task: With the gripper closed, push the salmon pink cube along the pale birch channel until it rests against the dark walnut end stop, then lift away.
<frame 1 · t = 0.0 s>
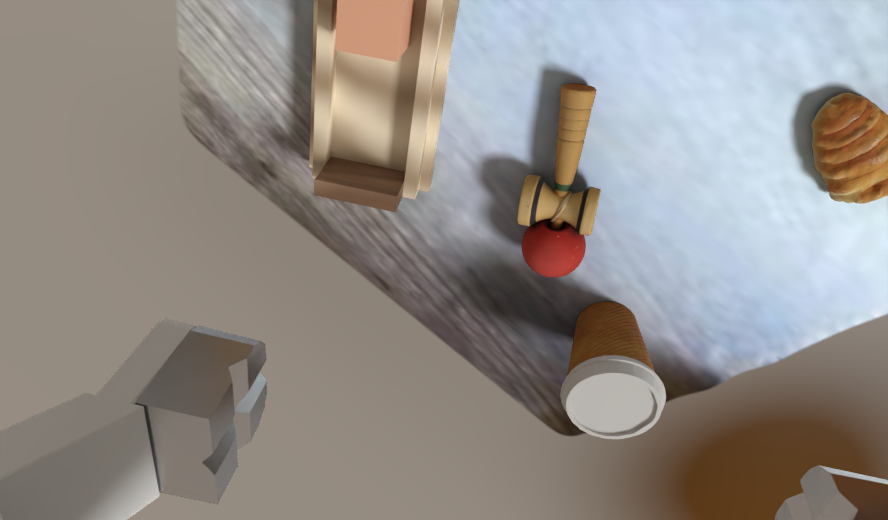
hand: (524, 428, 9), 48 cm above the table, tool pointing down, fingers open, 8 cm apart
salmon pink cube: (376, 15, 50), point 4 cm above the table, slide at 0.0 cm
disposable coffee cup: (606, 323, 68), on the table
pastry: (849, 146, 54), on the table
kendama: (561, 173, 59), on the table
channel: (380, 75, 56), on the table
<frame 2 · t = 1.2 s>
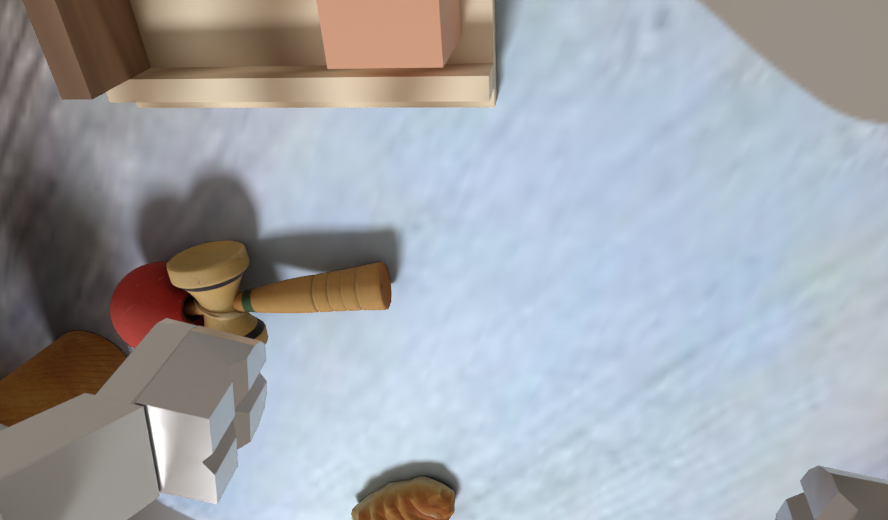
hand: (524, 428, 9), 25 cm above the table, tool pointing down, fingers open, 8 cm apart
disposable coffee cup: (97, 359, 50), on the table
pastry: (406, 500, 53), on the table
kendama: (266, 274, 42), on the table
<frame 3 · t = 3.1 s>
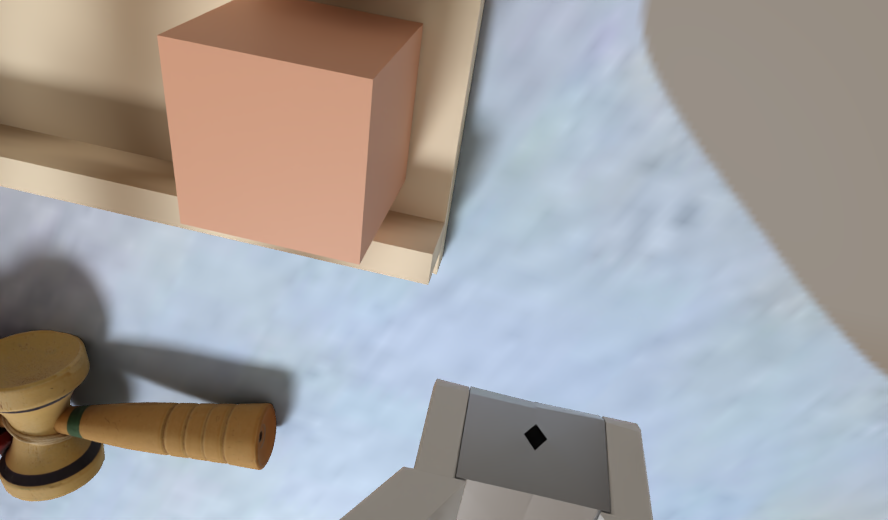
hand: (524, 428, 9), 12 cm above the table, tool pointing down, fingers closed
salmon pink cube: (304, 121, 17), point 4 cm above the table, slide at 0.0 cm
kendama: (115, 377, 32), on the table
channel: (170, 44, 21), on the table
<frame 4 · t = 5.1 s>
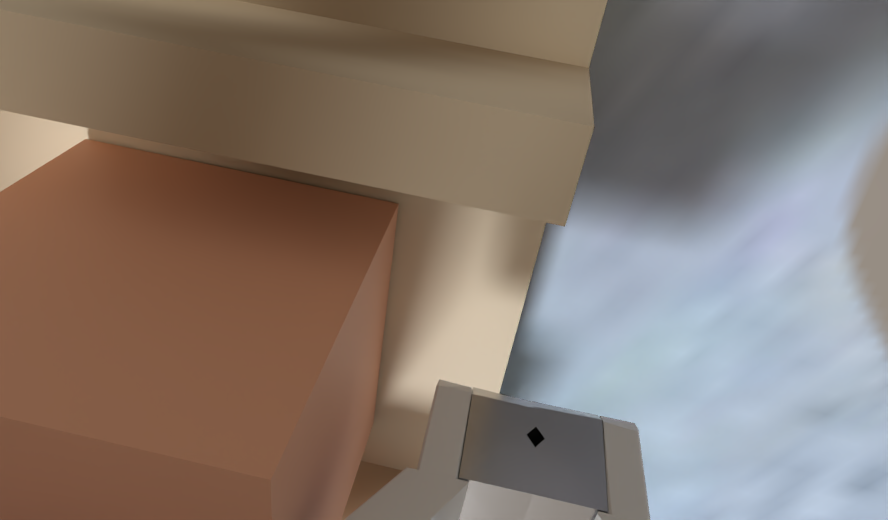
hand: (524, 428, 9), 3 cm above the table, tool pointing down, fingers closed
salmon pink cube: (173, 401, 9), point 4 cm above the table, slide at 0.7 cm, touching gripper
channel: (7, 208, 12), on the table
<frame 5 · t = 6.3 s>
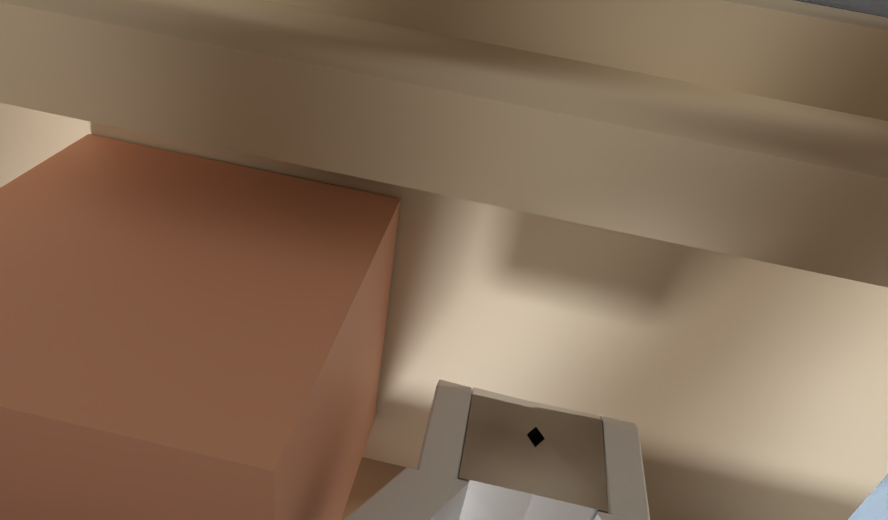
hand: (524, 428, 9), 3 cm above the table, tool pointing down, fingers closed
salmon pink cube: (175, 396, 9), point 4 cm above the table, slide at 7.6 cm, touching gripper
channel: (354, 278, 12), on the table
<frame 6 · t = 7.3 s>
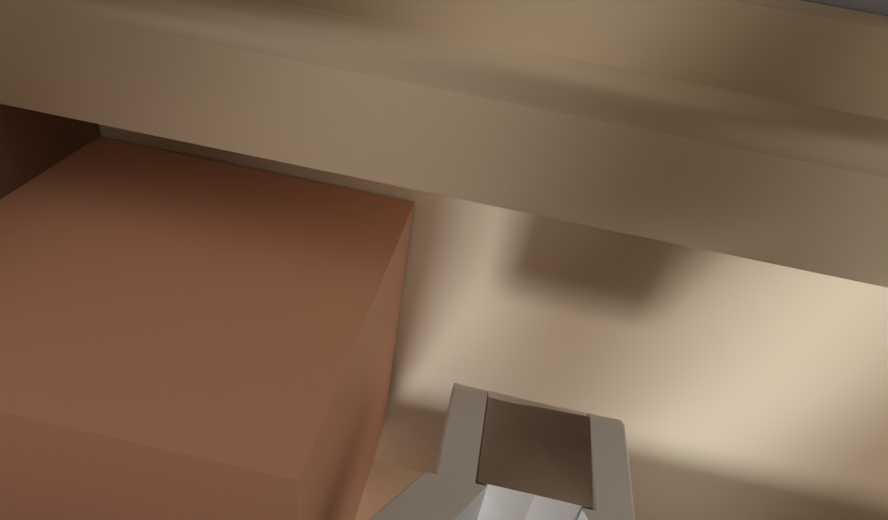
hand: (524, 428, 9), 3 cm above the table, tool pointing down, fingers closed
salmon pink cube: (188, 401, 9), point 4 cm above the table, slide at 11.9 cm, touching channel, gripper
channel: (590, 330, 12), on the table
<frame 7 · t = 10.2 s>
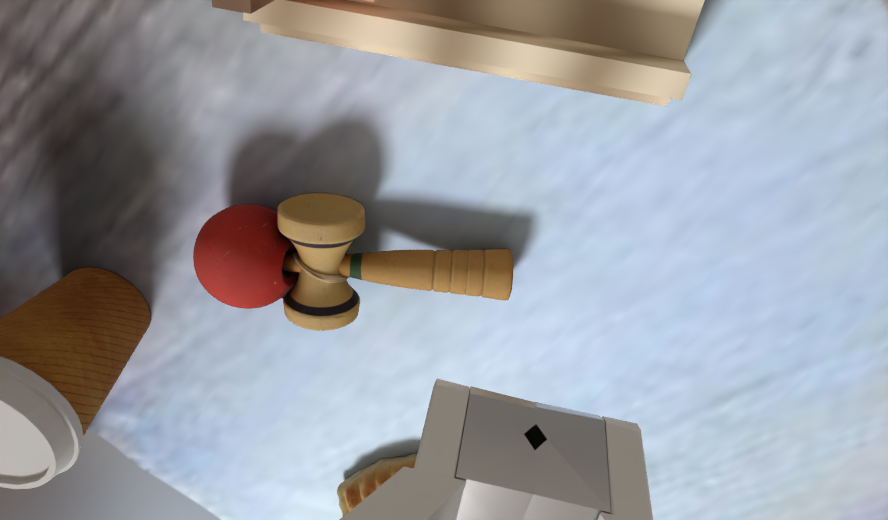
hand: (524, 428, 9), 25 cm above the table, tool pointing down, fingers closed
disposable coffee cup: (109, 302, 44), on the table
pastry: (395, 478, 51), on the table
kendama: (366, 238, 38), on the table
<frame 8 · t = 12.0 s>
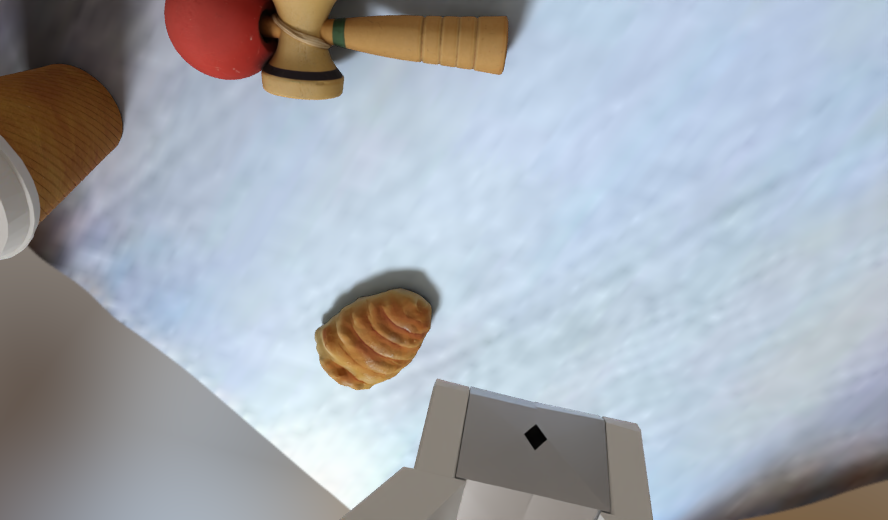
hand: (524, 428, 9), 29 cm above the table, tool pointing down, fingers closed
disposable coffee cup: (79, 110, 42), on the table
pastry: (376, 324, 48), on the table
kendama: (352, 17, 36), on the table
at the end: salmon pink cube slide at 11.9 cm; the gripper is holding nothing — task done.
